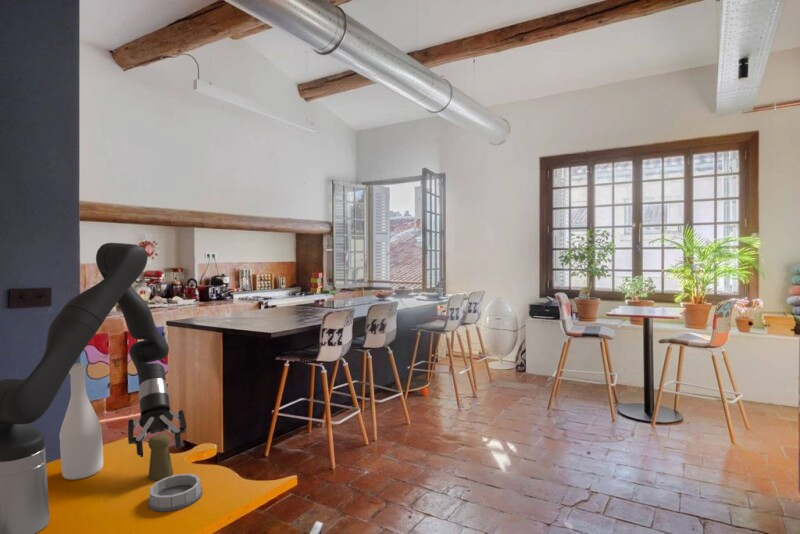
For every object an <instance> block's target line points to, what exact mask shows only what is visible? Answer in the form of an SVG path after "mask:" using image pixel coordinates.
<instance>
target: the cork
mask: <svg viewBox="0 0 800 534" xmlns="http://www.w3.org/2000/svg"><path fill="white" fill-rule="evenodd" d="M147 443H148V448H149V449H150V457H149V467H148V480H149V481H152V482H158V481H160V480H162V479H164V478H167V477H169V476H173V475H174V468H173V464H172V458H171V454H170V449H169V446H170V443H171V438H170V435H169V434H167V433H157V434H154V435H152V436H151V437H150V438H149V439H148V442H147Z"/></svg>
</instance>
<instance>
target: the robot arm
mask: <svg viewBox="0 0 800 534" xmlns="http://www.w3.org/2000/svg"><path fill="white" fill-rule="evenodd" d="M95 262H96V266H97V269H98V272H99V273H100V274H101V277H102V278H103V279H102V280H101V281H100V282H98V283H96V284H95V285H93V286H91V287H89V288H87V289H86V290H84V291H82V292H80V293H79V294H78V295H76V296H75V297H73V298H72V299H70V300H69V301H68V302H67V303H66V304H65V305H64V306H63V307H62V308H61V310H60V311H59V312H58V314H57V315H56V316H55V318H54V319H53V320H52V322H51V323H50V326H49V328H48V330H47V336H46V345H45V350H44V354H43V356H42V358H41V360H40V361H39V362H38V363H37V365H36V366H35V367H34V369H33V370H32V372H30V374H29V375H28V376H27V377H26V378H25V379H24V378H23V379H21V378H5V379H3V378H2V379H0V534H36V533H38V532H40V531H42V530H43V529H45V528H46V527H47V526H48V525H49V523H50V507H49V506H50V505H49V503H50V502H49V488H48V487H49V486H48V485H49V484H48V473H47V457H46V455H47V454H46V442H45V441H46V440H45V436H44V434H43V433H42V432H41V431H40V430H38V429H37V428H35V427H34V426H33V425H32V423H35V422H36V421H37V420H39V419H40V418H41V417H42V416H43V415H44V414H45V413H46V412H47V411H48V409H49V408H50V407H51V404H52V403H53V402H54V399H55V398H56V396H57V395H58V393H59V390H60V389H61V387H62V385H63V383H64V382H65V380H66V378H67V377H68V374H69V371H70V370H71V368H72V366H73V365H74V364H76V362H77V361H78V359H79V357H80V356H81V354H83V351H84V350H85V349H86V347H87V346H88V344H89V343H90V342H91V340H92V339H93V338H94V337H95V335H96V334H97V332H98V331H99V330H100V328H101V327H102V325H103V323H104V322H105V320H106V318H108V315H109V314H110V313H111V312H112V310H113V309H114V308H115V306H116V305H117V304H118V306H119V308H120V311H121V312H122V315H123V318H124V321H125V324H126V327H127V329H128V333H129V336H130V337H131V338H132V339H134V340H140V341H135V342H133V343H132V344H131V345H130V348H129V349H128V350H129V352H128V353H129V356H130V359H131V361H132V362H133V365H134V366H135V367H134V368H135V369H136V372H137V377H138V387H139V389H138V401H139V411H140V412H139V413H140V418H139V419H137V420H133V418H132V419H129V420H128V421H127V423H128V424H127V425H128V426H127V427H128V428H127V433H128V434H127V438H128V439H127V443H128V445H132V444H134V445H135V446H136V454H137V456H139V457H140V458H143V457H144V447H143V440H144V439H145V438H147V436H148V435H149V434H151V435H152V434H155V433H159V432H160V433H162V432H164V431H165V430H166V431H167V432H168V433H170V434H172V435H173V439H174V446H175V447H174V448H175V450H178V449H180V447H181V444H182V439H181V434H186V432H187V428H188V427H187V423H186V417H185V413H184V410H182V409H180V410H179V411H178V412H174V413H173V412H172V410H171V403H170V395H169V394H170V393H169V387H168V385H167V380H166V378H167V377H166V371H165V368H164V366H163V365H162V364H161V363H156V361H161V360H163V359H166V358H167V357H168V355H169V352H170V349H169V344H168V342H167V340H166V339H165V338H164V337H163V336H162V334H161V332H159V330H158V329H157V326H156V324H155V320H154V317H153V315H152V311H151V308H150V307H149V305H148V304H147V302H146V301H145V300H144V299H143V297H141V295H140V294H139V293H138V292H137V291H136V290H135V288H134V287H133V284H134V283H135V282H136V281H137V280H138V278H139V277H141V275H142V273H144V271H145V268H146V267H147V263H148V253H147V250H146V249H145V248H144V246H141V245H139V244H132V243H120V242H106V243H103V244H102V245H101V246H100V247H99V248H98V249H97V252H96V253H95ZM154 362H155V363H154ZM173 419H175V420H176V421H179V425H180V427H178V426H176V425H175V424H174V423H173V422H172V421H173ZM138 426H140V427H141V430H140V432H139V434H138V435H137V436H134V430H136V429H137V427H138Z"/></svg>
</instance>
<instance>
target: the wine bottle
mask: <svg viewBox="0 0 800 534" xmlns="http://www.w3.org/2000/svg"><path fill="white" fill-rule="evenodd" d="M85 372H86V365H85V363H82V362H81V363H75V364H74V365H73V366H72V368H71V370H70V371H69V373H68V374H69V375H70V397H69V403H68V406H67V409H66V411H65V415H64V418H63V421H62V424H61V427H60V431H59V451H60V463H61V464H60V465H61V476H62V477H63V478H64V479H66V480H72V481H73V480H81V479H85V478H89V477H92V476H93V475H95V474H97V473H99V472H100V471H101V470H102V468H103V467H104V450H103V434H102V432H103V431H102V424H101V422H100V419H99V417H98V415H97V414H96V412H95V409H94V407H93V405H92V403H91V402H90V399H89V396H88V393H87V386H86V385H87V384H86V374H85Z"/></svg>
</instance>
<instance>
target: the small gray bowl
mask: <svg viewBox="0 0 800 534" xmlns="http://www.w3.org/2000/svg"><path fill="white" fill-rule="evenodd" d="M201 483H202V481H201V479H200V477H199V476H198V475H196V474H192V473H179V474H173V475H172V476H169V477H167V478H164V479H162V480H160V481H155V482H154V484H152V486H150V488H149V489H148V490H149V498H148V500H147V506H148V508H149V510H151V511H153V512H158V513H168V512H169V513H170V512H176V511H179V510H182V509H186V508H188V507H189V506H191V505H193V504H195V503H196V502H198V501H199V500H200V499H201V497H202V496H203V488H202V484H201Z"/></svg>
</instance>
